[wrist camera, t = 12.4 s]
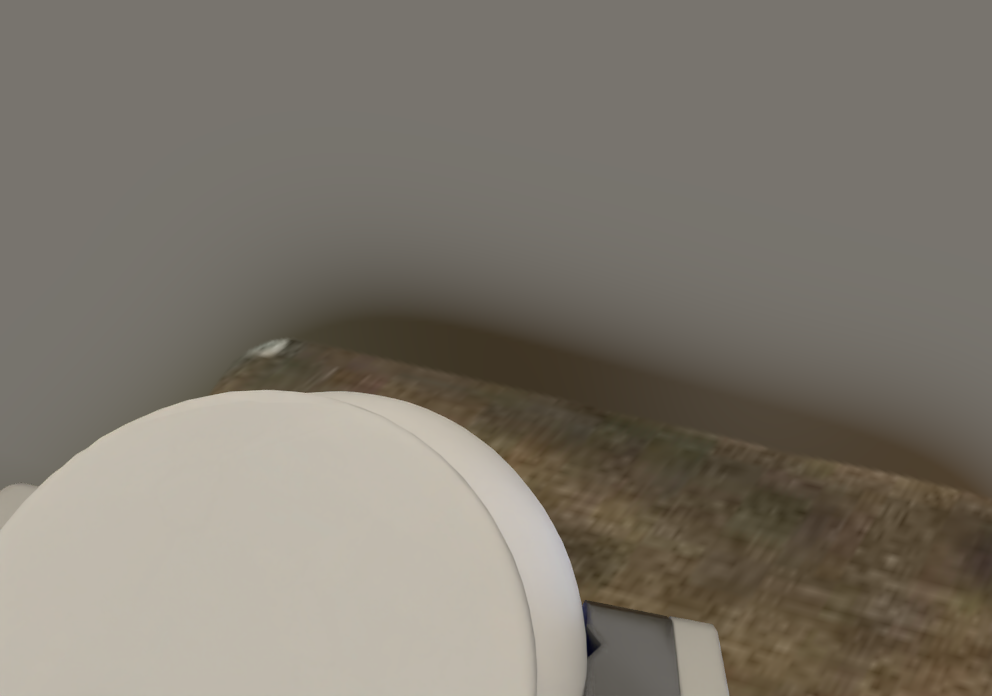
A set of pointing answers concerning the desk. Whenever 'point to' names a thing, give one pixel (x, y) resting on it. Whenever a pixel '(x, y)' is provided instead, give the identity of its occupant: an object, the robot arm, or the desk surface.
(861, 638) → the desk surface
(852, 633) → the desk surface
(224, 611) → the pill bottle
